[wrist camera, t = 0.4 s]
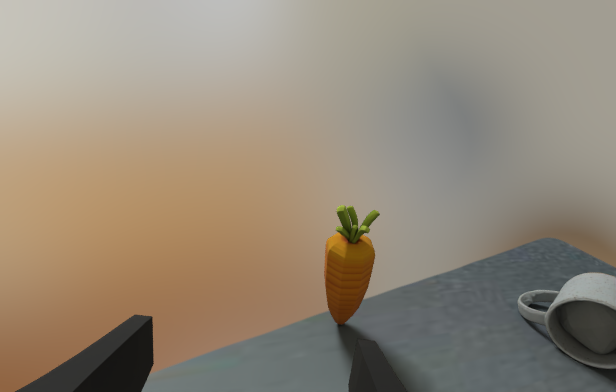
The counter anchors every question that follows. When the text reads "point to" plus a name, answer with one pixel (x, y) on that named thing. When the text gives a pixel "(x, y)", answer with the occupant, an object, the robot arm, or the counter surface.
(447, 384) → the counter surface
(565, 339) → the ceramic mug
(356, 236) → the carrot
